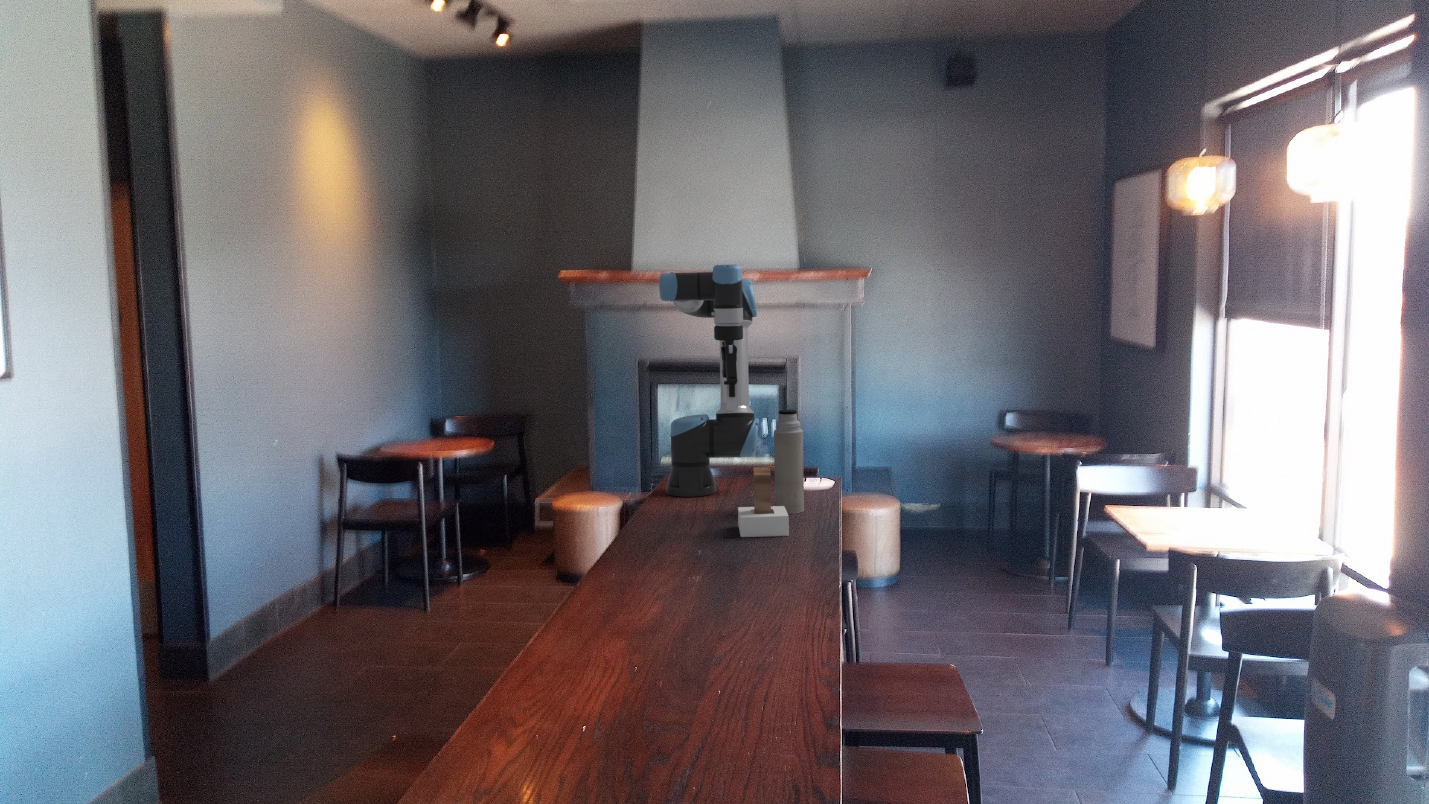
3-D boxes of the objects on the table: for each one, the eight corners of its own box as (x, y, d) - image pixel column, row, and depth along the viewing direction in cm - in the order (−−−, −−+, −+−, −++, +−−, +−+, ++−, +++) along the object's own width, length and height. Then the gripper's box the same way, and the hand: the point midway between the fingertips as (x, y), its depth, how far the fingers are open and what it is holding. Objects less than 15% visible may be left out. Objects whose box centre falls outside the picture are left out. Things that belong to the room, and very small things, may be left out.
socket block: (738, 526, 275) (738, 507, 275) (784, 524, 275) (784, 505, 275) (740, 537, 263) (740, 517, 263) (788, 535, 263) (788, 515, 263)
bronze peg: (754, 529, 271) (753, 467, 270) (770, 528, 271) (769, 467, 270) (755, 532, 267) (754, 470, 265) (771, 532, 267) (770, 470, 266)
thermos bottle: (803, 507, 296) (801, 408, 293) (805, 513, 288) (803, 411, 285) (774, 507, 296) (772, 408, 293) (775, 514, 288) (773, 412, 285)
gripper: (711, 321, 286) (713, 399, 289) (716, 328, 261) (718, 413, 264) (739, 321, 286) (740, 398, 289) (746, 327, 262) (748, 412, 265)
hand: (730, 405), depth 277 cm, fingers open, 13 cm apart
